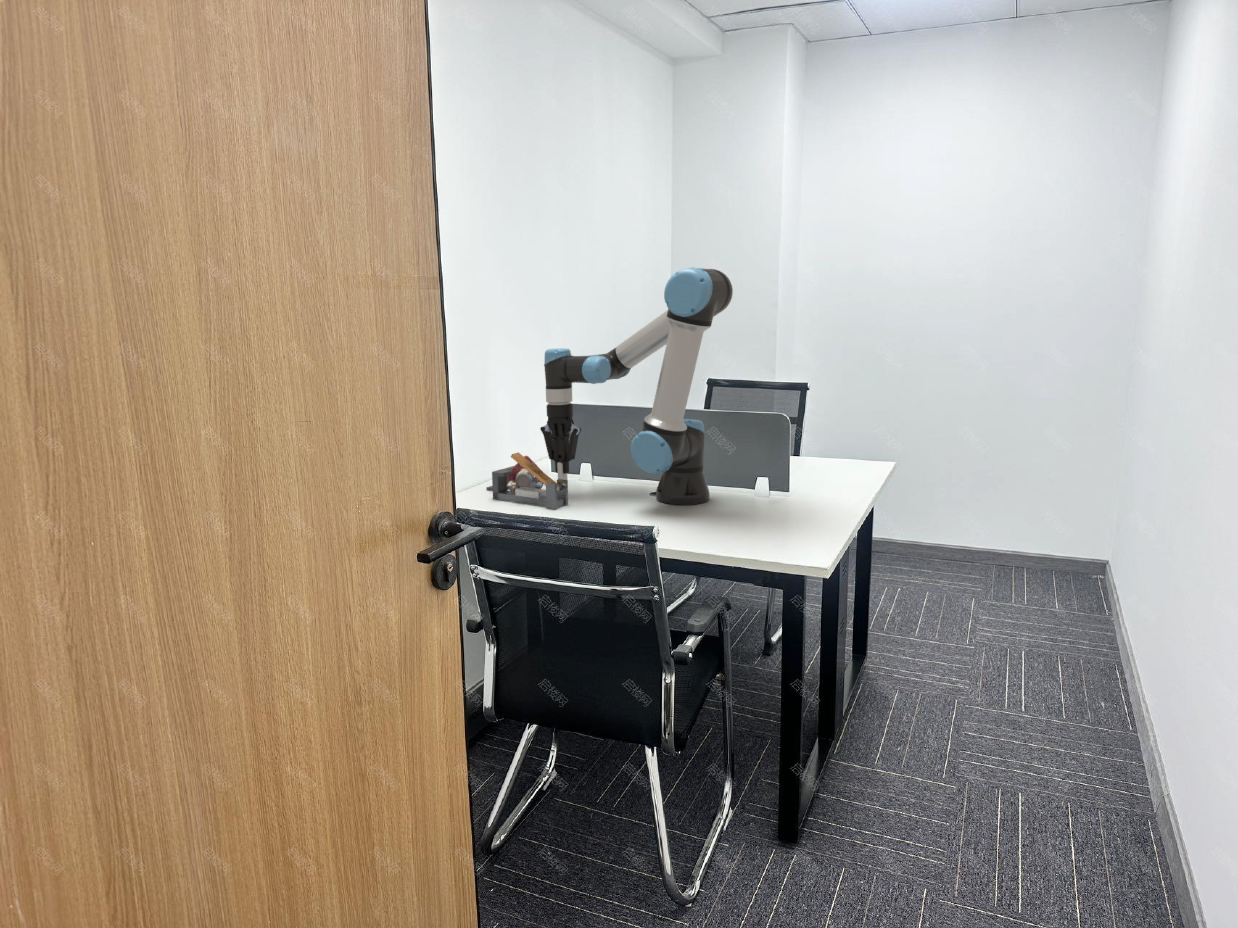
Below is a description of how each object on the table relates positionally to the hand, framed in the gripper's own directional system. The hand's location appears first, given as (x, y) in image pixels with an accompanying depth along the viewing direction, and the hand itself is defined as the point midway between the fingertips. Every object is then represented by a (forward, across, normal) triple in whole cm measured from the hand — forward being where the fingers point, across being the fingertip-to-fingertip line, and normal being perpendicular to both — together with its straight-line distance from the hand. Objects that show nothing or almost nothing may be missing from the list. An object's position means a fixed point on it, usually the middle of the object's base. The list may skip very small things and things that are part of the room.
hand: (562, 483), depth 244 cm
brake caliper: (+3, +11, +3) cm, 12 cm away
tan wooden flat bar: (-5, +1, +12) cm, 13 cm away
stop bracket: (+3, +21, 0) cm, 21 cm away
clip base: (+3, +4, +12) cm, 13 cm away
